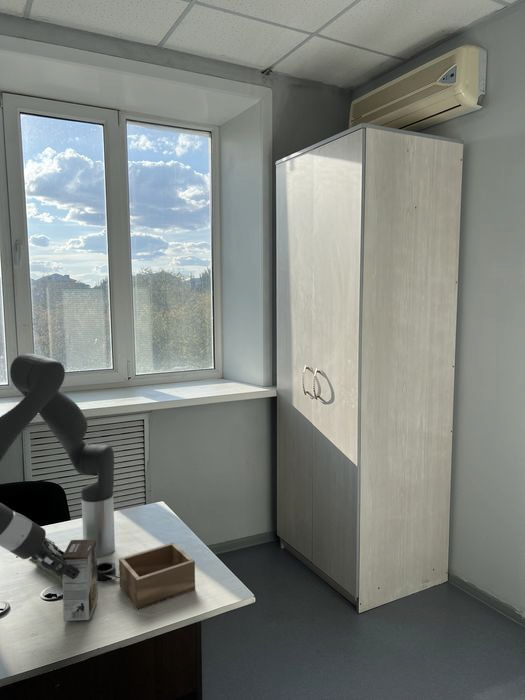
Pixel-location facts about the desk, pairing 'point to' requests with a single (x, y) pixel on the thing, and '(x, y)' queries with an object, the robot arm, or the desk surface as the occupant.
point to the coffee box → (80, 580)
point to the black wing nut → (106, 572)
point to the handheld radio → (48, 568)
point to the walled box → (156, 575)
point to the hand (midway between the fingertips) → (72, 567)
